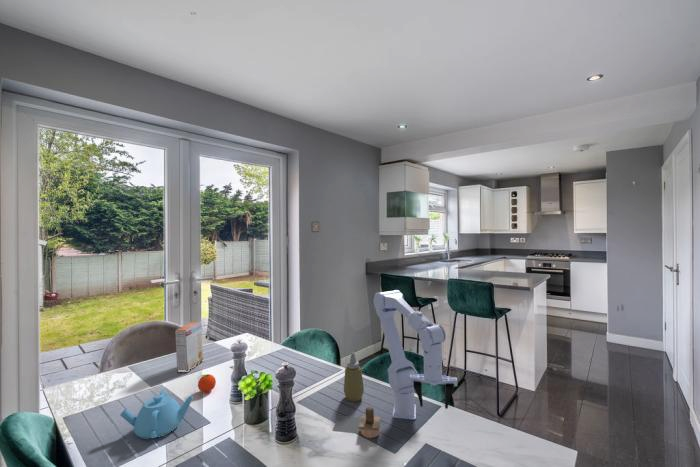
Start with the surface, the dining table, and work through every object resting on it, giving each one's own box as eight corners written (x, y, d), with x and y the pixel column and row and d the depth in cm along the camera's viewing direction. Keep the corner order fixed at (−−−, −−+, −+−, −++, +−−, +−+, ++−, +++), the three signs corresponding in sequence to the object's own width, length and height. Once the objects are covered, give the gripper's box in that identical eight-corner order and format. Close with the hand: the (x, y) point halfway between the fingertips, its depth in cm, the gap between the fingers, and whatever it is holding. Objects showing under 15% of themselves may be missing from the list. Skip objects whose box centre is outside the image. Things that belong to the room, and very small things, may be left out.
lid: (361, 417, 111) (361, 403, 111) (380, 419, 110) (380, 404, 110) (358, 429, 105) (358, 414, 105) (378, 430, 104) (378, 415, 104)
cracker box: (192, 361, 172) (191, 321, 171) (203, 361, 171) (202, 321, 171) (175, 373, 158) (174, 329, 157) (187, 373, 157) (186, 329, 157)
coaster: (338, 416, 118) (338, 415, 117) (363, 418, 116) (363, 417, 116) (332, 431, 109) (332, 430, 109) (358, 434, 107) (358, 433, 107)
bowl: (362, 426, 111) (362, 417, 111) (380, 428, 110) (380, 419, 110) (359, 437, 105) (359, 428, 105) (378, 439, 104) (377, 430, 104)
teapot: (159, 412, 124) (158, 382, 123) (195, 420, 118) (194, 389, 118) (118, 436, 109) (117, 403, 109) (157, 447, 103) (155, 412, 103)
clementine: (192, 394, 136) (191, 377, 136) (203, 386, 143) (202, 370, 143) (209, 396, 134) (208, 379, 134) (219, 388, 141) (219, 371, 141)
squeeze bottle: (362, 404, 125) (361, 357, 125) (341, 403, 126) (340, 356, 126) (365, 394, 133) (364, 350, 132) (346, 392, 134) (345, 349, 134)
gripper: (409, 367, 102) (410, 410, 102) (458, 370, 99) (459, 415, 99) (409, 358, 109) (410, 399, 109) (455, 361, 106) (456, 402, 106)
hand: (433, 406), depth 105 cm, fingers open, 7 cm apart
